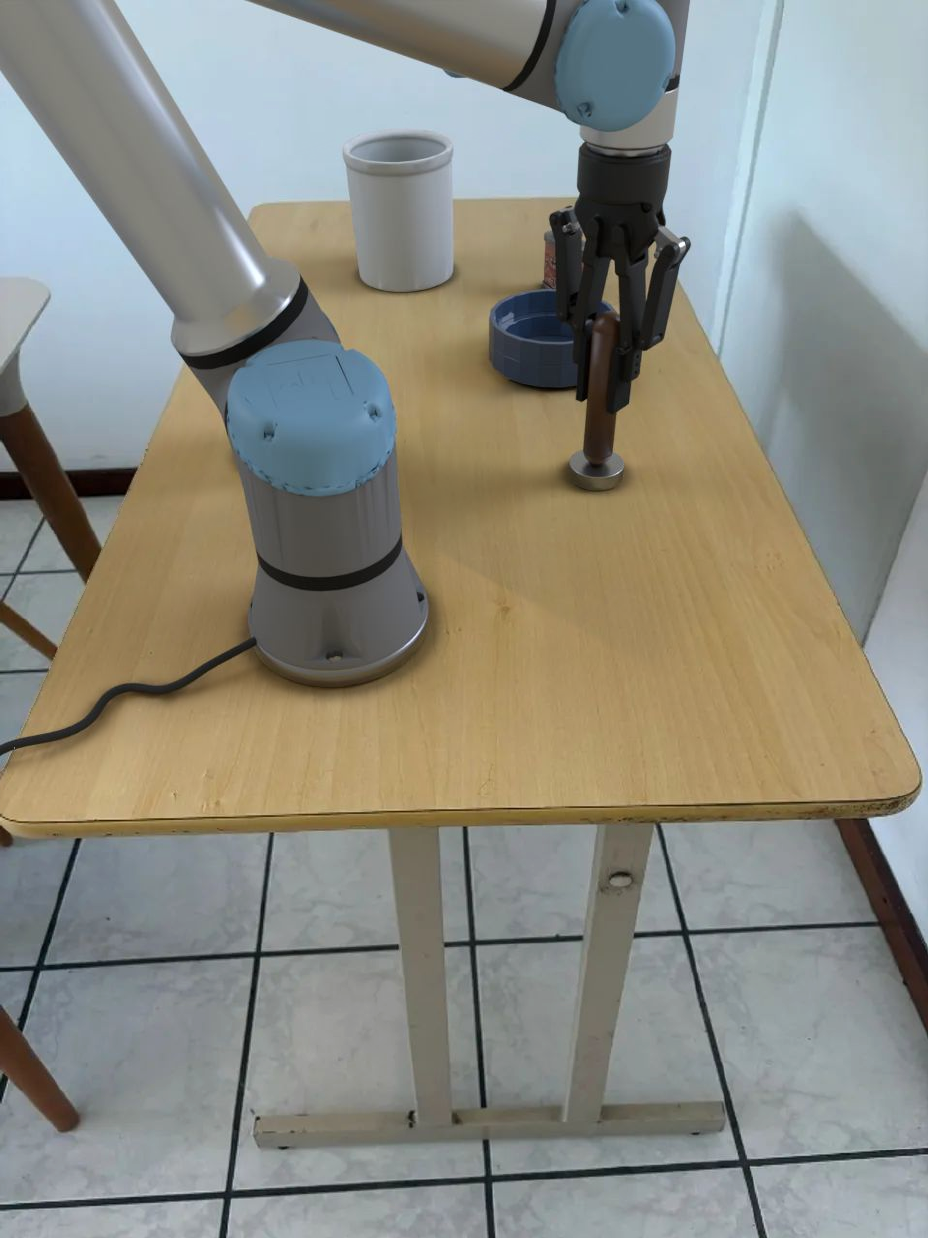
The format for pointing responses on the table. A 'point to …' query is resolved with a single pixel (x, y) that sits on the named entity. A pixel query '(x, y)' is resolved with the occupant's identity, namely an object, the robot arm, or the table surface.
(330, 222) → the table surface
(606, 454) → the brown stamp
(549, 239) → the lighter
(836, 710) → the table surface
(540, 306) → the bowl
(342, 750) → the table surface
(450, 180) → the utensil holder
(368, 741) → the table surface
